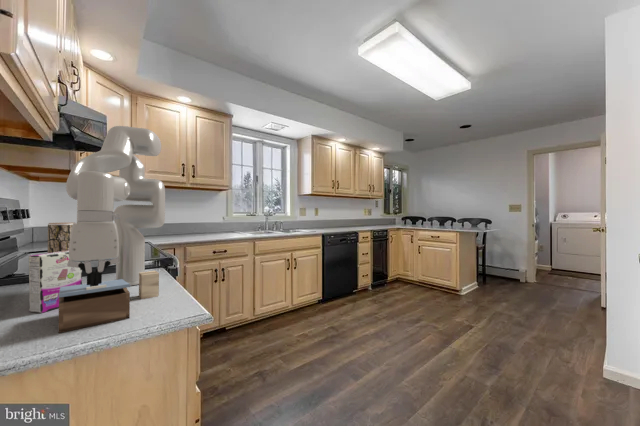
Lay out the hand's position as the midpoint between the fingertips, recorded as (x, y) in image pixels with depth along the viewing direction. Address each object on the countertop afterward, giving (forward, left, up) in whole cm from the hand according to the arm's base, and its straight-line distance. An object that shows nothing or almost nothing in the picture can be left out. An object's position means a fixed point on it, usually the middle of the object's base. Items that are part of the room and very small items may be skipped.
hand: (94, 287), depth 72 cm
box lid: (-4, 0, -1) cm, 4 cm away
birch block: (-15, +15, -9) cm, 23 cm away
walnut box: (-4, 0, -9) cm, 10 cm away
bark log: (-29, -7, -9) cm, 31 cm away
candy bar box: (-21, -8, -9) cm, 24 cm away
